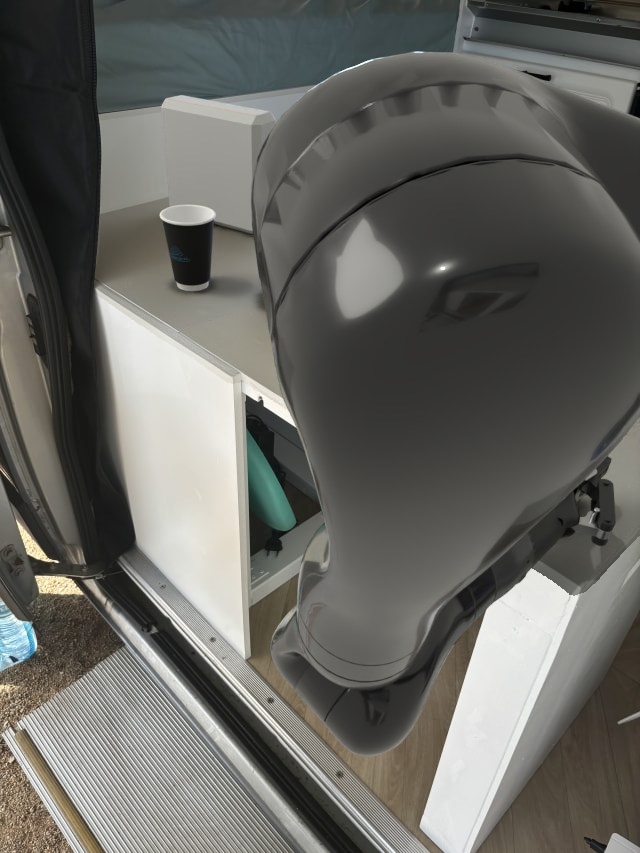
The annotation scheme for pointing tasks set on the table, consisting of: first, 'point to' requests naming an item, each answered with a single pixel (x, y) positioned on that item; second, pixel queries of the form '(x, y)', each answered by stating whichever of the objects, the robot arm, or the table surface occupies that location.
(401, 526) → the robot arm
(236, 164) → the bevelled white case
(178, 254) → the dixie cup
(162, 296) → the table surface
